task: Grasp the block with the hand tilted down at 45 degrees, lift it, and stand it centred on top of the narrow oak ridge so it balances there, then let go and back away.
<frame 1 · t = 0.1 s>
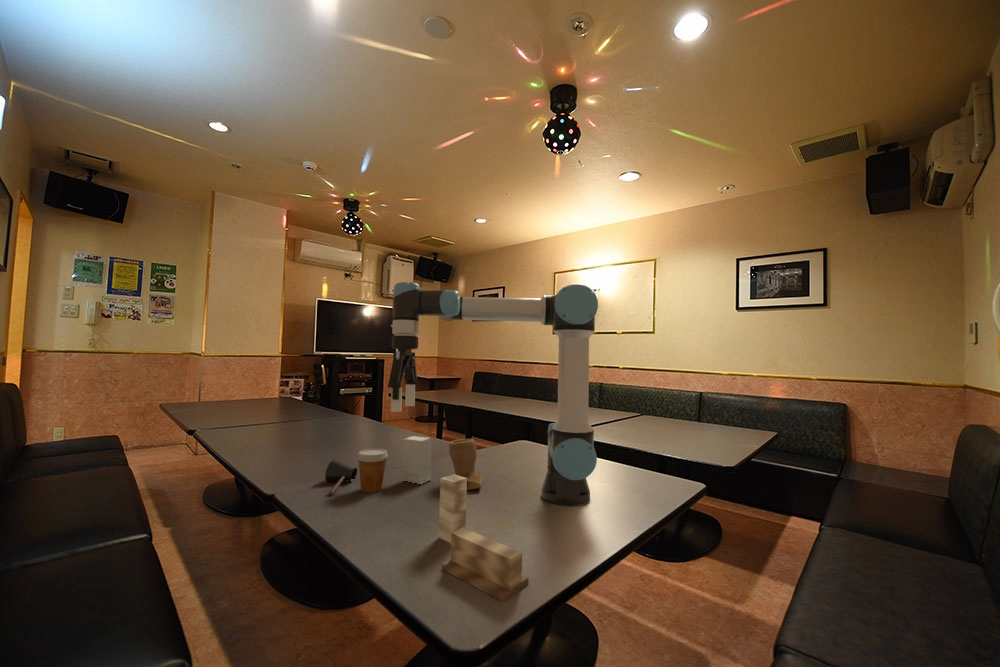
hand: (403, 408, 116), 28 cm above the table, tool pointing down, fingers open, 13 cm apart
block: (451, 537, 96), on the table
disposable coffee cup: (371, 490, 128), on the table
skincare box: (416, 481, 137), on the table
ridge: (484, 575, 79), on the table
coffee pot: (334, 487, 130), on the table
tan upright curved piece: (464, 484, 136), on the table
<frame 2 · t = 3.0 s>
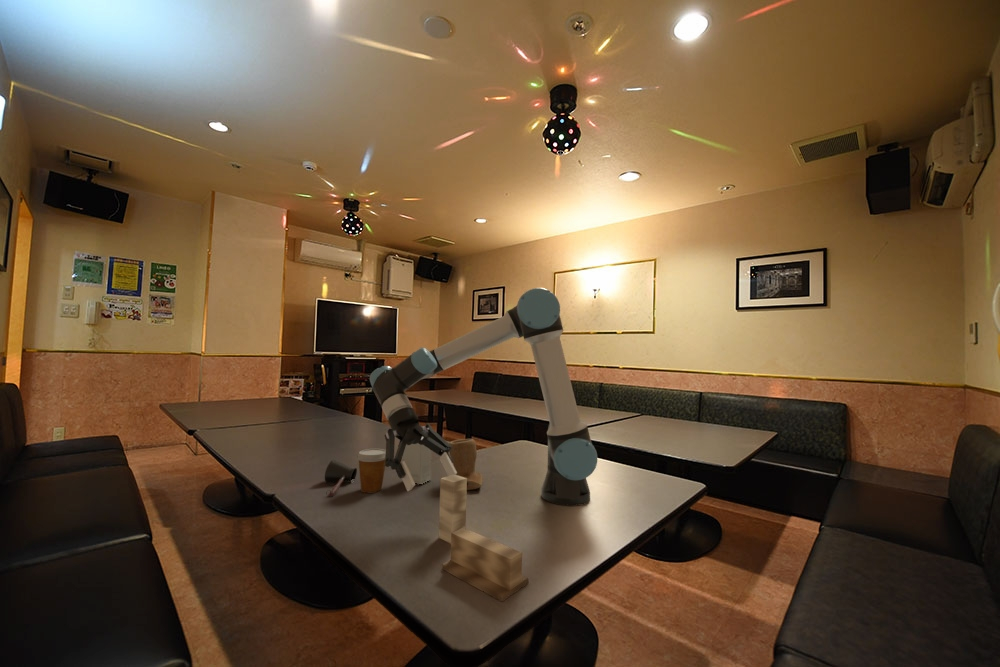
hand: (433, 481, 100), 12 cm above the table, tool tilted 45°, fingers open, 13 cm apart
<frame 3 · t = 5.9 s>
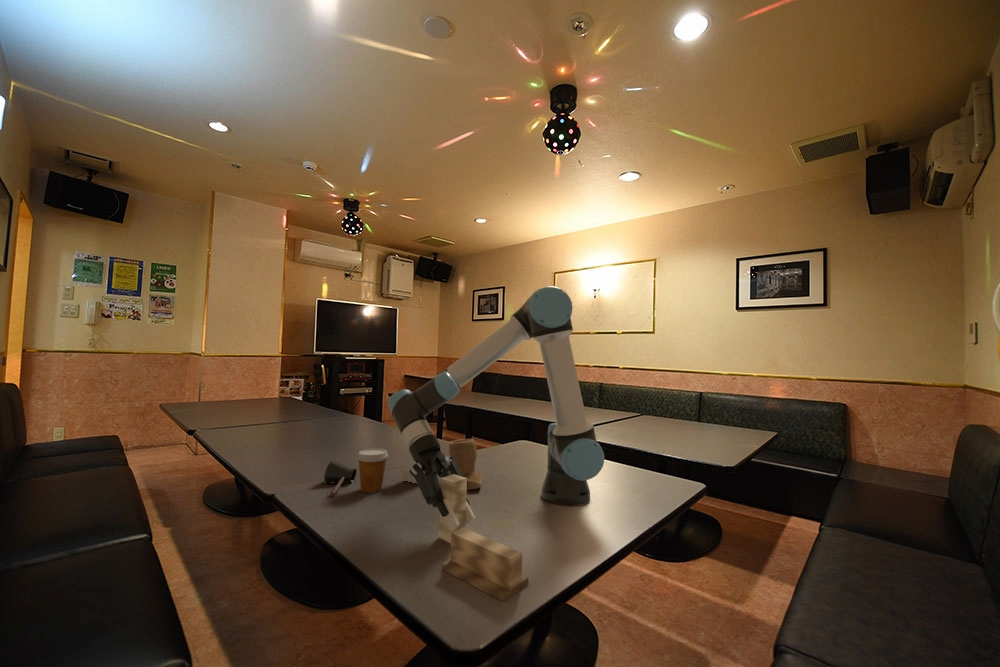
hand: (463, 523, 94), 4 cm above the table, tool tilted 45°, fingers closed on block, 4 cm apart
block: (452, 537, 96), on the table, touching gripper
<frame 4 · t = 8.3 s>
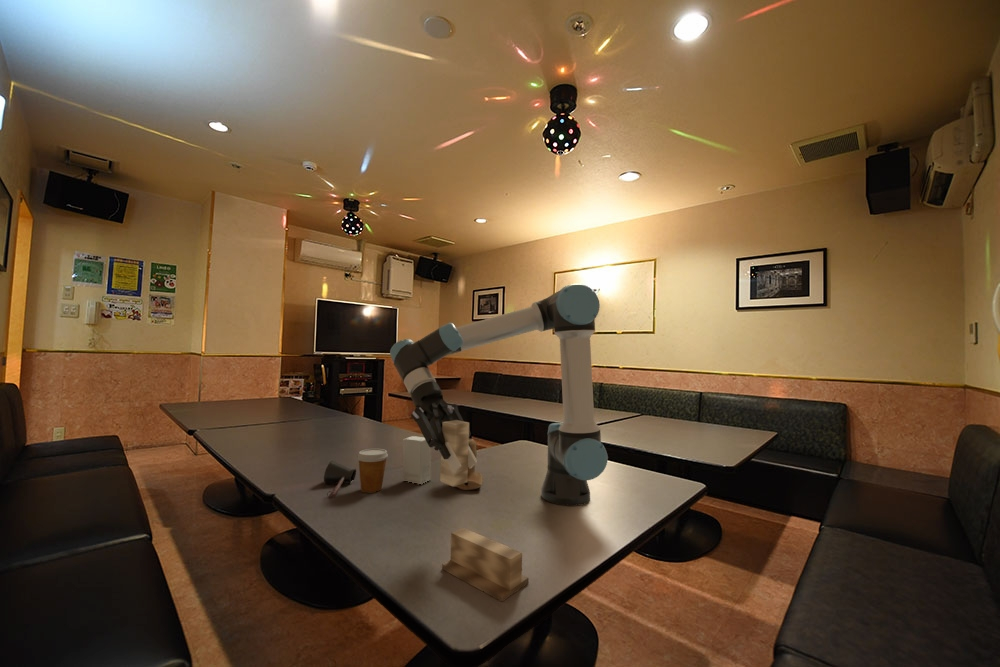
hand: (465, 467, 92), 18 cm above the table, tool tilted 45°, fingers closed on block, 4 cm apart
block: (453, 482, 94), point 14 cm above the table, touching gripper
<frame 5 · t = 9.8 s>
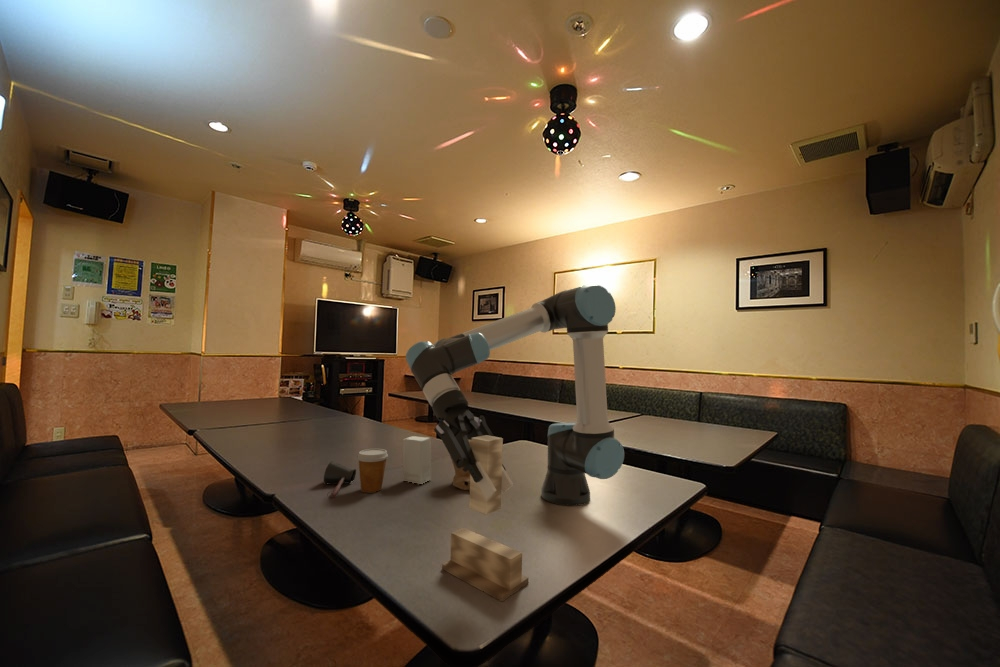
hand: (500, 491, 78), 17 cm above the table, tool tilted 45°, fingers closed on block, 4 cm apart
block: (485, 508, 80), point 13 cm above the table, touching gripper
when the fingers open (12 cm above the table, at t = 11.1 s): block drops 1 cm, resting on ridge.
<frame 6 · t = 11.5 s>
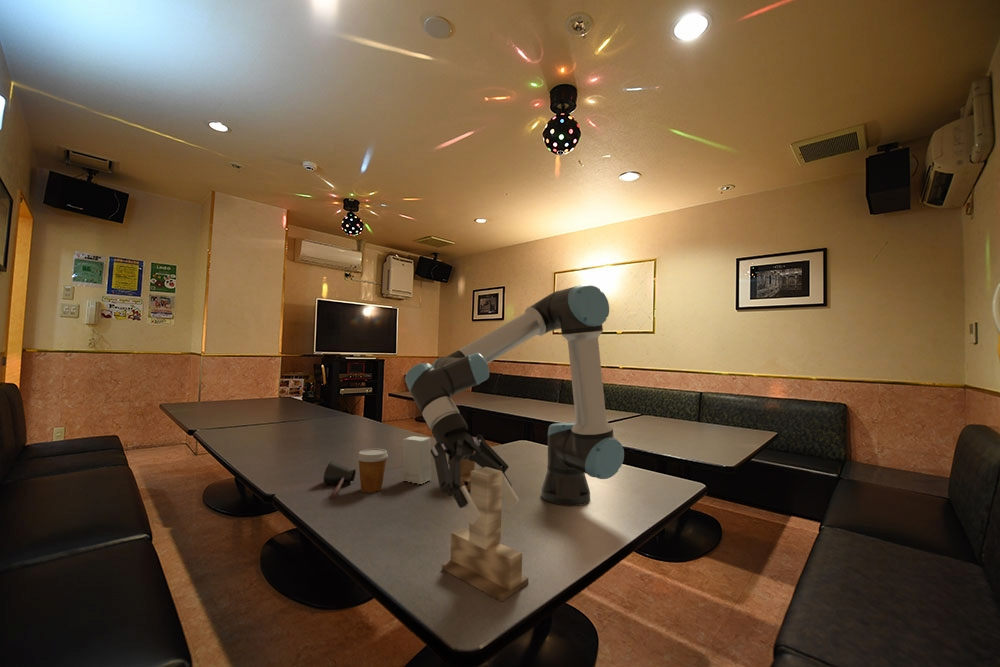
hand: (496, 512, 78), 13 cm above the table, tool tilted 45°, fingers open, 11 cm apart
block: (484, 542, 80), point 6 cm above the table, touching ridge
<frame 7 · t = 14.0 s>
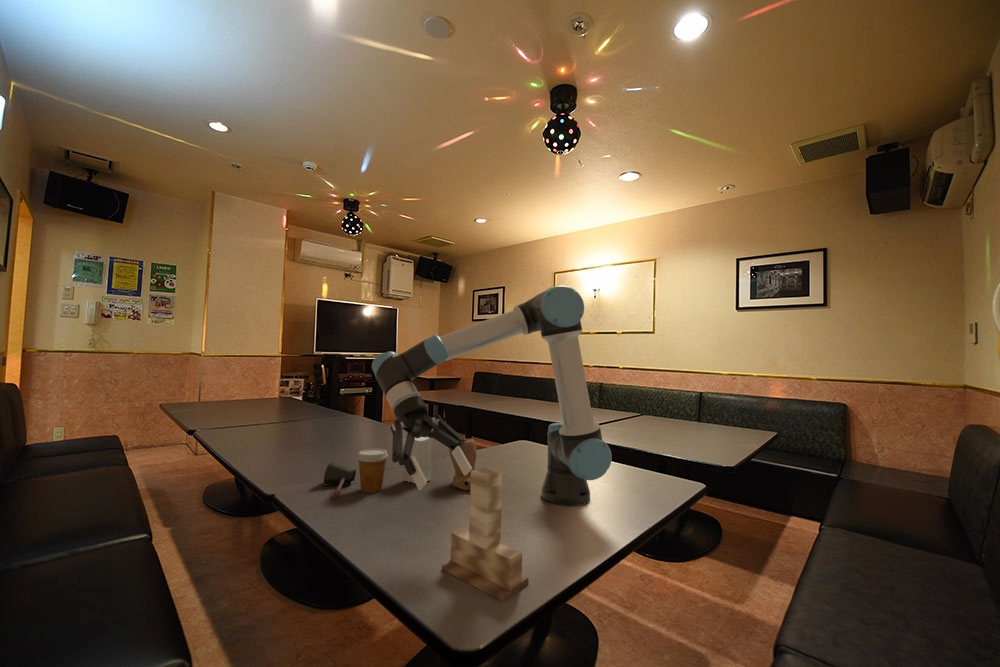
hand: (447, 478, 89), 16 cm above the table, tool tilted 45°, fingers open, 13 cm apart
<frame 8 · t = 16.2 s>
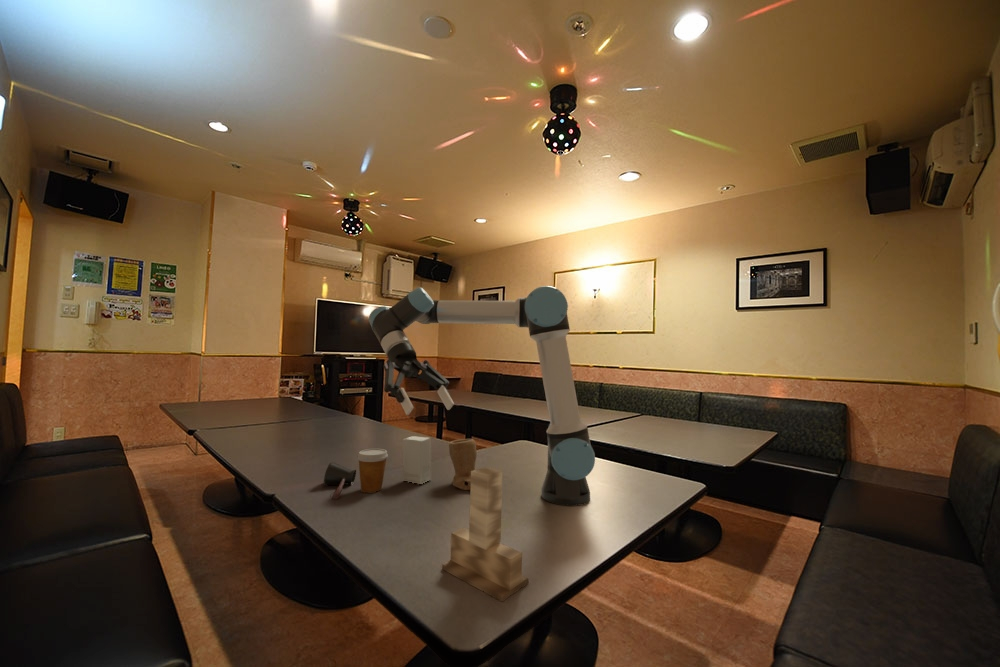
hand: (431, 409, 103), 30 cm above the table, tool tilted 45°, fingers open, 13 cm apart
at the end: block inside the target area on the ridge (0.1 cm from its centre), point 6.5 cm above the ridge's base; block tilted 0°; the gripper is holding nothing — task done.
